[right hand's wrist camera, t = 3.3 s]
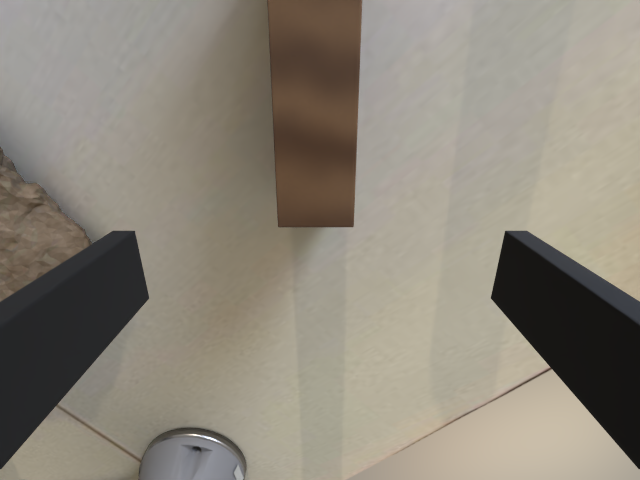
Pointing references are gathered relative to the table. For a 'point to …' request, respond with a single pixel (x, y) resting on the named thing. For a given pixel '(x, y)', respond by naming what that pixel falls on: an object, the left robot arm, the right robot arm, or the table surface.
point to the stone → (31, 231)
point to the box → (315, 109)
